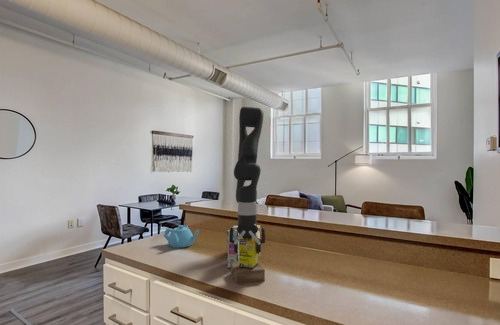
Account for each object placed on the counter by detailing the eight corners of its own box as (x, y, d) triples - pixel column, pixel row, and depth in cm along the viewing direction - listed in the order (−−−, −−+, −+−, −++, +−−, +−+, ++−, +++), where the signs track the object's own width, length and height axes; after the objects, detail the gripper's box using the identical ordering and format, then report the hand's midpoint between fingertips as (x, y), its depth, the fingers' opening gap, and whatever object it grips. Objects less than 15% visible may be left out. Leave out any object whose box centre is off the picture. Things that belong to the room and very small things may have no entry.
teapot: (188, 239, 173) (188, 221, 173) (200, 245, 161) (200, 225, 161) (162, 244, 163) (162, 224, 163) (173, 250, 151) (173, 230, 151)
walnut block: (230, 274, 121) (230, 262, 121) (256, 271, 124) (256, 260, 124) (237, 285, 110) (237, 272, 110) (264, 282, 113) (264, 269, 113)
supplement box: (238, 267, 115) (238, 240, 115) (244, 262, 121) (244, 236, 121) (252, 269, 113) (252, 241, 113) (258, 264, 119) (257, 237, 118)
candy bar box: (238, 269, 125) (238, 231, 125) (226, 268, 126) (226, 230, 126) (243, 260, 136) (243, 225, 136) (233, 259, 137) (233, 225, 137)
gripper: (265, 211, 120) (265, 250, 120) (230, 211, 121) (230, 250, 121) (265, 214, 113) (265, 256, 113) (228, 214, 113) (228, 256, 113)
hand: (247, 253), depth 117 cm, fingers open, 8 cm apart
